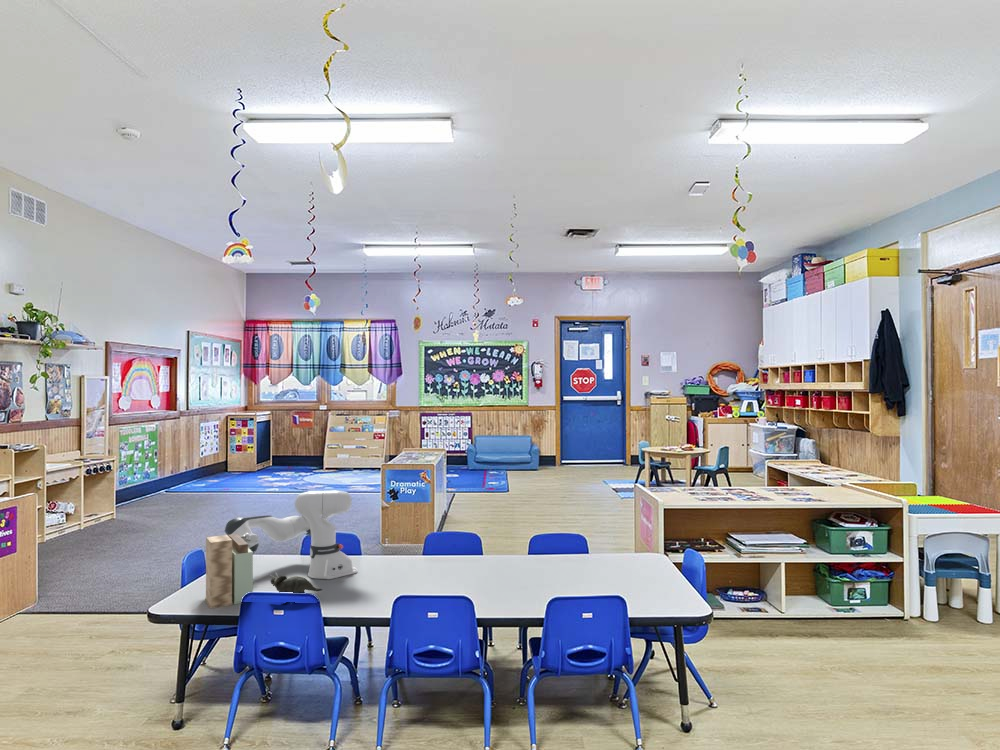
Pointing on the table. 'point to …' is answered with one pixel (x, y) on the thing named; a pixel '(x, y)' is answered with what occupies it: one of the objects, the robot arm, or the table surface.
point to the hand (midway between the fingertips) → (236, 536)
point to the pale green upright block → (241, 574)
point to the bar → (239, 544)
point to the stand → (218, 571)
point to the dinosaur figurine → (292, 584)
